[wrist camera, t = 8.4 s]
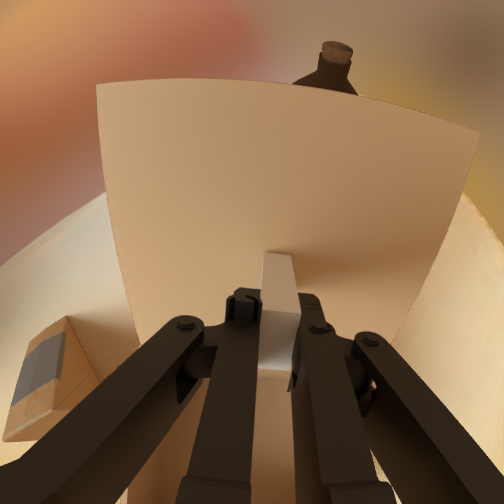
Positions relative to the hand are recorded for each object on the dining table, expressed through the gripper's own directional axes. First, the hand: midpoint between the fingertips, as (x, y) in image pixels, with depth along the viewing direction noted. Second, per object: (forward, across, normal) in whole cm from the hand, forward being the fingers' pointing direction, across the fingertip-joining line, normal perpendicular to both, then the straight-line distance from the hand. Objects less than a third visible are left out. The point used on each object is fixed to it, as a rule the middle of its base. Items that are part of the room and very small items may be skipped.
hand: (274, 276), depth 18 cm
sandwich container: (+10, -24, -22) cm, 34 cm away
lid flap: (+1, 0, +1) cm, 1 cm away
